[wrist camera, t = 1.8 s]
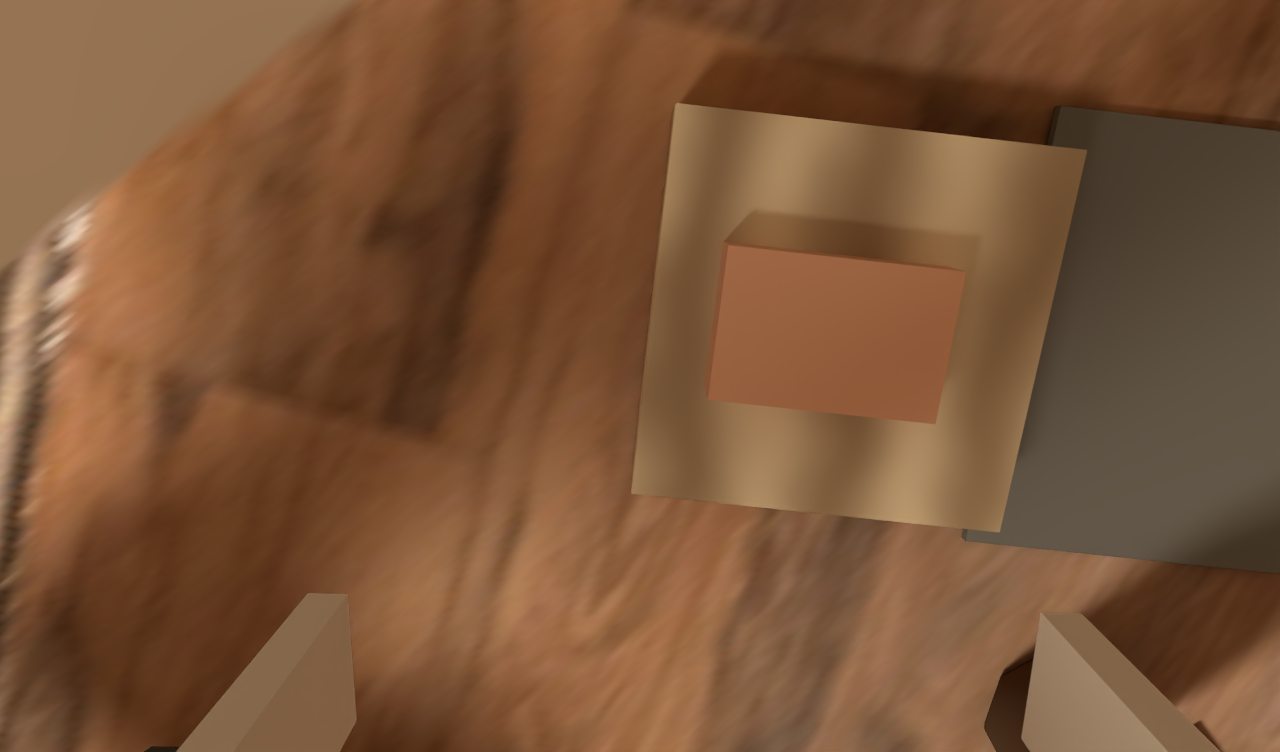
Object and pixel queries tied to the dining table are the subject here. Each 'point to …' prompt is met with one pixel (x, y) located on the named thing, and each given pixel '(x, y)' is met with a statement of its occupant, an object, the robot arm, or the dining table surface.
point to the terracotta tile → (832, 332)
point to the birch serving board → (864, 227)
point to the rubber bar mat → (1159, 352)
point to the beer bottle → (1009, 710)
